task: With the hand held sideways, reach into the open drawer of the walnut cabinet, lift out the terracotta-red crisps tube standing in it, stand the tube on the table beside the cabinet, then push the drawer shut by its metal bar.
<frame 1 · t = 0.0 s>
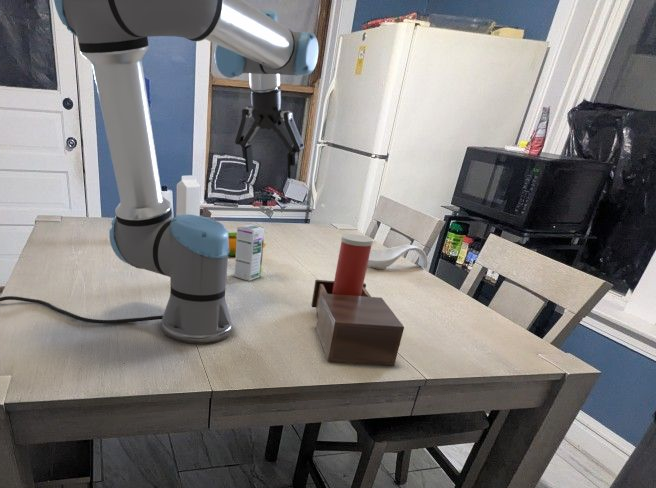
hand: (270, 173, 135), 28 cm above the table, tool tilted 20°, fingers open, 13 cm apart
milk: (187, 241, 175), on the table
syrup box: (247, 277, 143), on the table
cabinet: (352, 346, 105), on the table
corn: (236, 255, 163), on the table
crisps tube: (342, 315, 115), point 2 cm above the table, touching drawer
drawer: (342, 302, 116), point 4 cm above the table, slide at 11.5 cm, touching crisps tube
spoon rest: (391, 267, 164), on the table
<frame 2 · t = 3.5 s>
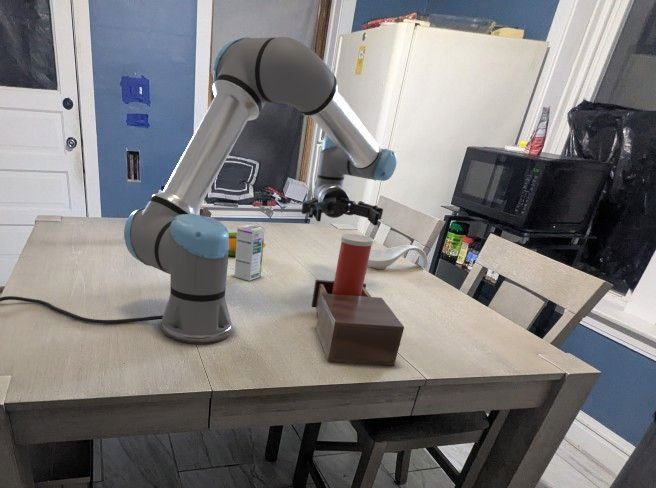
hand: (348, 217, 115), 22 cm above the table, tool horizontal, fingers open, 13 cm apart
nothing on the table moved.
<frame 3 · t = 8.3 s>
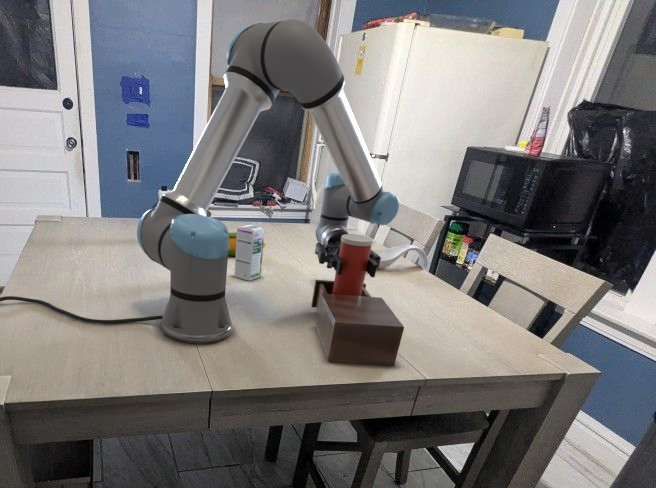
hand: (357, 269, 105), 14 cm above the table, tool horizontal, fingers closed on crisps tube, 7 cm apart
crisps tube: (342, 315, 115), point 2 cm above the table, touching drawer, gripper
everything else where it was.
when the fingers open (12 cm above the table, at t = 17.7 s): crisps tube stays where it is, on the table.
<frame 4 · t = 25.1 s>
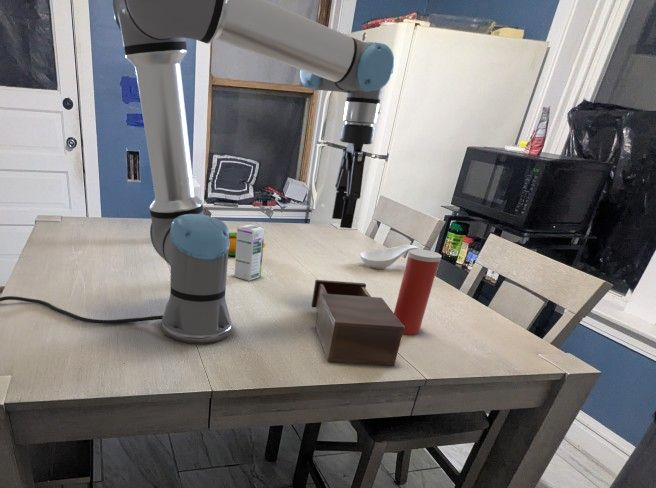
hand: (341, 223, 122), 20 cm above the table, tool pointing down, fingers open, 10 cm apart
crisps tube: (404, 329, 116), on the table
drawer: (342, 302, 116), point 4 cm above the table, slide at 11.5 cm
everything else where it was.
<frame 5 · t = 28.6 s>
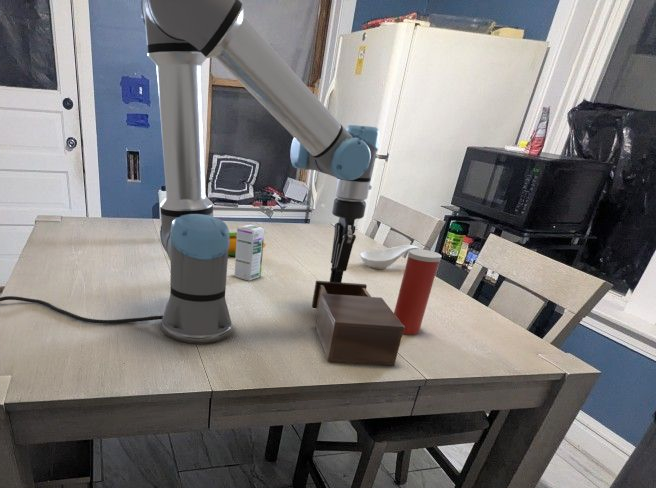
hand: (333, 294, 126), 3 cm above the table, tool pointing down, fingers closed
drawer: (342, 303, 116), point 4 cm above the table, slide at 10.8 cm, touching gripper
everything else where it was.
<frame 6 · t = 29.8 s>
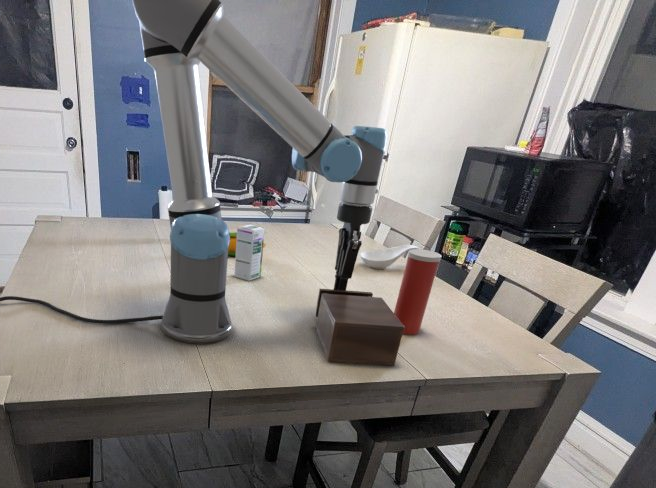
hand: (337, 302, 121), 3 cm above the table, tool pointing down, fingers closed
drawer: (347, 312, 111), point 4 cm above the table, slide at 4.8 cm, touching gripper
everything else where it was.
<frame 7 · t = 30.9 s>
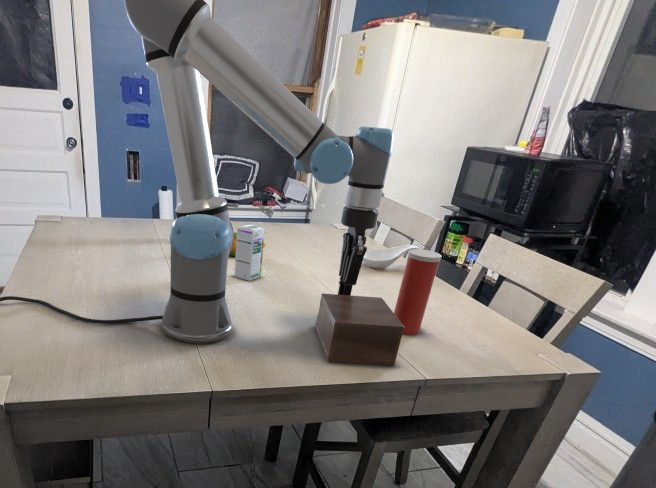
hand: (341, 309, 116), 3 cm above the table, tool pointing down, fingers closed
drawer: (352, 320, 106), point 4 cm above the table, slide at 0.0 cm, touching cabinet, gripper
everything else where it was.
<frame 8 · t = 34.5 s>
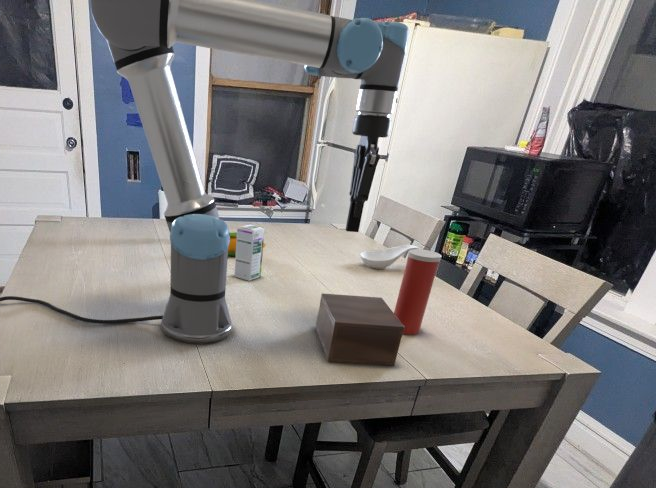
hand: (351, 230, 112), 20 cm above the table, tool pointing down, fingers closed
drawer: (352, 320, 106), point 4 cm above the table, slide at 0.0 cm, touching cabinet
everything else where it was.
at the end: crisps tube inside the target area (0.0 cm from its centre), on the table; crisps tube tilted 0°; drawer slide at 0.0 cm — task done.
